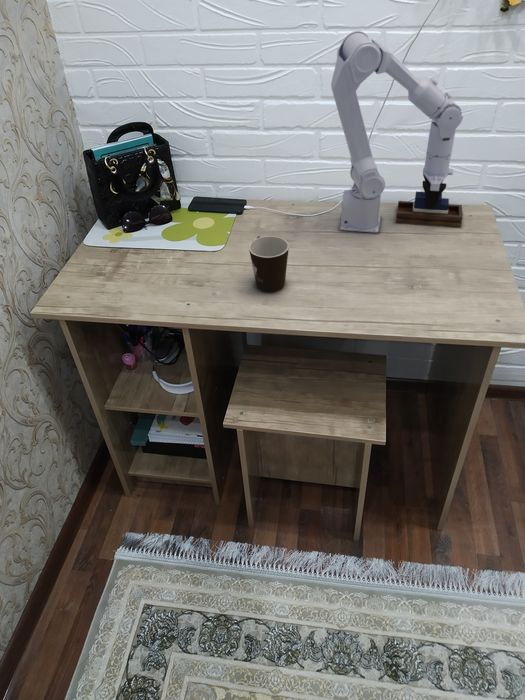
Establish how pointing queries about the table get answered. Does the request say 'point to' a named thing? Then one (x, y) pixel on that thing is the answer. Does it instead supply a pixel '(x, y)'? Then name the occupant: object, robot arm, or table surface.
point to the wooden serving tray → (429, 216)
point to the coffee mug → (269, 262)
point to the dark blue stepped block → (421, 204)
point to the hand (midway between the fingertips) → (430, 204)
